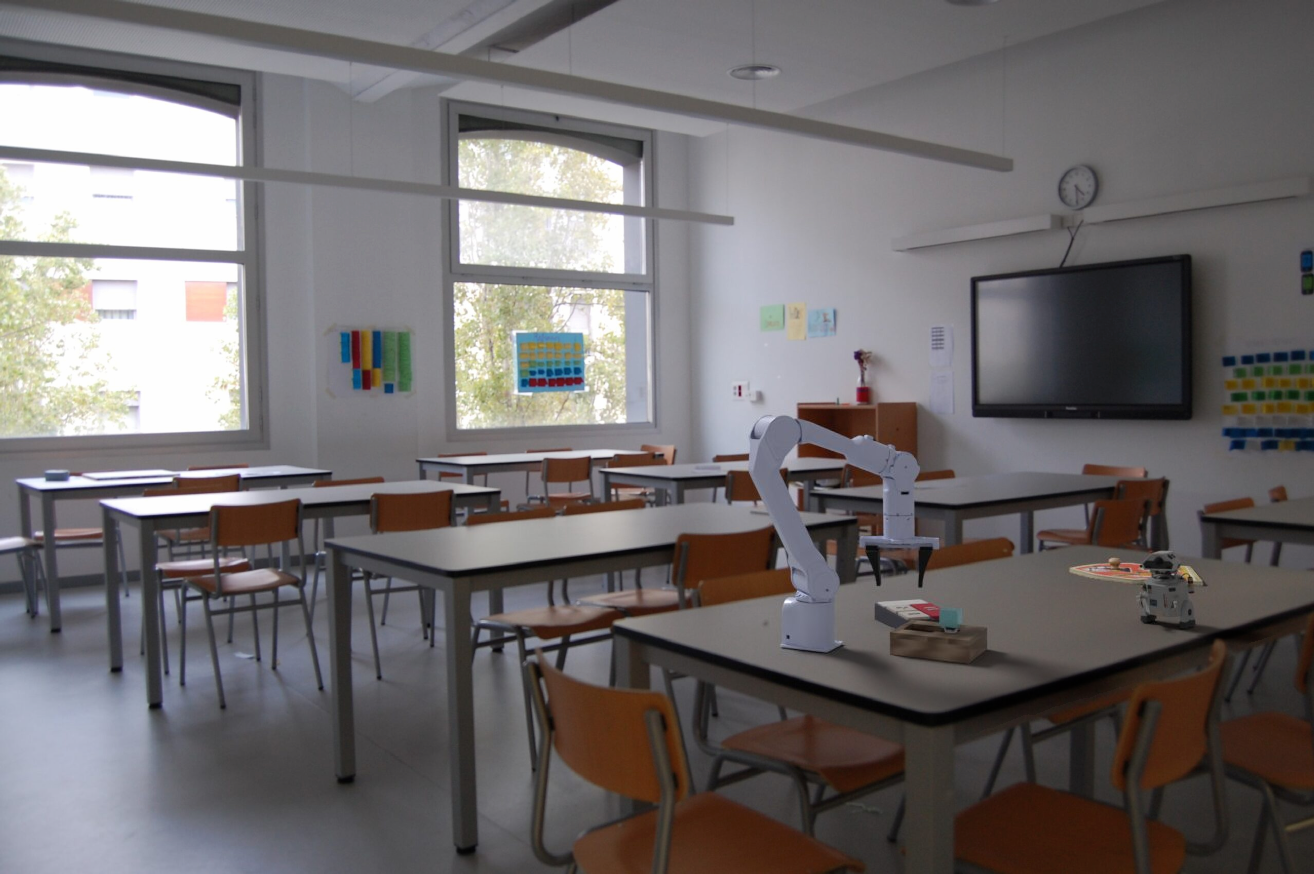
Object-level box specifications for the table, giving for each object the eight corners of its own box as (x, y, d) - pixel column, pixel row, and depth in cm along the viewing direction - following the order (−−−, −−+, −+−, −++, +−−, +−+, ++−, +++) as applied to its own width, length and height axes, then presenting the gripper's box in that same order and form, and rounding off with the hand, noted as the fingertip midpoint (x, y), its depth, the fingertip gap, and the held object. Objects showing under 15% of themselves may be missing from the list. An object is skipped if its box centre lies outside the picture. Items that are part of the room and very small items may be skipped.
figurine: (1125, 626, 201) (1125, 551, 201) (1154, 618, 208) (1154, 545, 208) (1172, 634, 194) (1172, 556, 194) (1200, 625, 201) (1200, 550, 201)
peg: (936, 654, 182) (936, 609, 182) (943, 649, 186) (943, 605, 185) (959, 656, 180) (959, 612, 180) (965, 651, 184) (965, 607, 183)
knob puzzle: (1205, 589, 242) (1204, 570, 242) (1071, 583, 253) (1070, 565, 252) (1188, 570, 269) (1188, 553, 269) (1068, 565, 280) (1068, 549, 280)
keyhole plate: (890, 654, 183) (889, 632, 183) (912, 640, 193) (911, 619, 193) (968, 663, 175) (968, 640, 175) (987, 649, 185) (987, 627, 185)
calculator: (907, 617, 198) (873, 599, 213) (906, 639, 199) (873, 619, 213) (958, 613, 201) (921, 596, 215) (958, 635, 201) (921, 616, 216)
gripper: (857, 516, 191) (858, 588, 191) (937, 517, 186) (938, 591, 187) (861, 512, 198) (862, 581, 198) (939, 513, 193) (939, 584, 194)
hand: (899, 586), depth 193 cm, fingers open, 7 cm apart
